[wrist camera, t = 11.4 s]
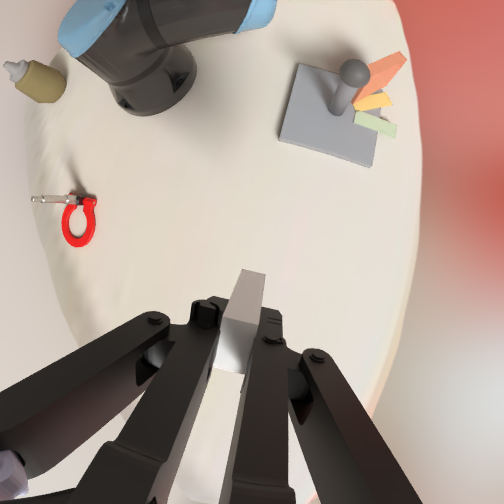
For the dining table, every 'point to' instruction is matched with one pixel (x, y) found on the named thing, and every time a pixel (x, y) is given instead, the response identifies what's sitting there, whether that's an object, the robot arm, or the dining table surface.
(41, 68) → the squeeze bottle
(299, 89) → the grey flat block
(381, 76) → the lever
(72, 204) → the tow hook
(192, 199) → the dining table surface
